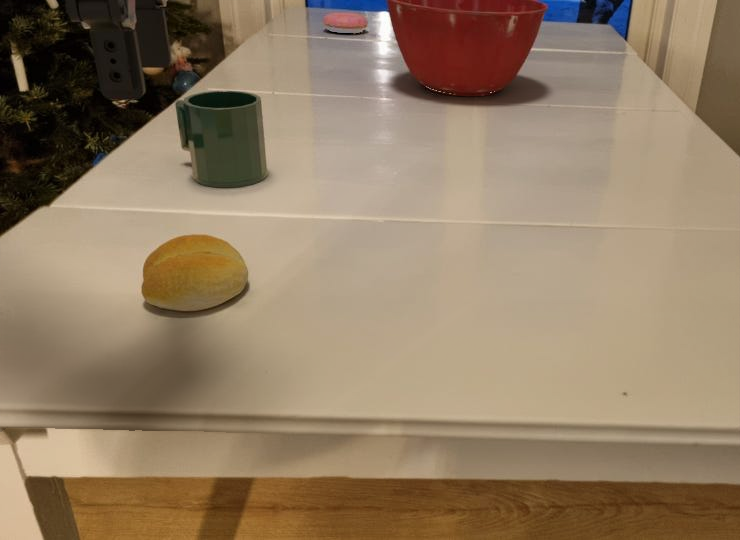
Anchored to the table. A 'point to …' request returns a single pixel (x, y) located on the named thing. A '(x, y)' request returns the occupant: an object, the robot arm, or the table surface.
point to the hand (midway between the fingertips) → (140, 81)
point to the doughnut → (345, 20)
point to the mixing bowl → (465, 41)
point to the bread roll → (193, 273)
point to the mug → (223, 137)
